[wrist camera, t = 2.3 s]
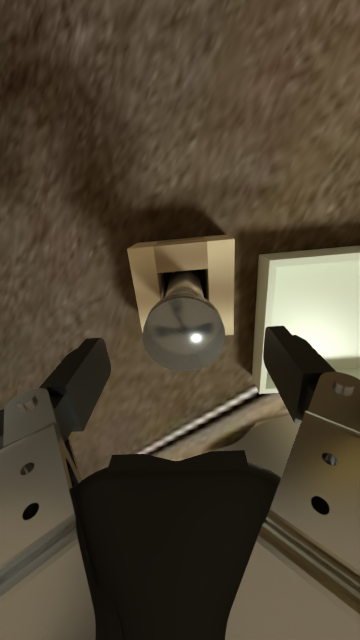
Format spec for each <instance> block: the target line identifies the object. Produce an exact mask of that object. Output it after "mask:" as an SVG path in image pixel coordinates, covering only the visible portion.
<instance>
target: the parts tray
mask: <svg viewBox="0 0 360 640" xmlns="http://www.w3.org/2000/svg"><path fill="white" fill-rule="evenodd" d="M269 326H285V328H286V329H287V330H288V331H289V332H290V333H291V334H292V335H297V336H299V337H301V338H303V339H305V340H306V341H307V342H308V343H309V344H310V345H311V346H312V347H313V348H314V349H315V350H316V351H317V352H318V354H320V355H321V356H322V357H323V358H324V359H325V360H326V361H327V362H328V363H329V364H330V365H331V367H332V368H333V369H334V370H335V371H336V372H341V373H345V374H348V375H351V376H354V377H356V378H358V379H359V380H360V245H358V246H346V247H335V248H324V249H313V250H302V251H291V252H279V253H268V254H259V258H258V276H257V294H256V311H255V329H254V347H253V365H252V377H253V379H254V382H255V384H256V386H257V389H258V391H259V394H262V393H279V392H278V390H277V388H276V386H275V384H274V383H273V381H272V379H271V377H270V375H269V373H268V371H267V369H266V367H265V364H264V359H263V351H264V338H265V329H266V327H269Z"/></svg>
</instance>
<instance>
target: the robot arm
mask: <svg viewBox="0 0 360 640" xmlns="http://www.w3.org/2000/svg"><path fill="white" fill-rule="evenodd" d="M263 359H264V364H265V367H266V369H267V371H268V373H269V375H270V377H271V379H272V381H273V383H274V384H275V386H276V388H277V390H278V392H279V394H280V396H281V398H282V400H283V402H284V404H285V405H286V407H287V409H288V411H289V413H290V415H291V417H292V419H293V421H294V423H301V424H300V427H299V430H298V433H297V435H296V438H295V441H294V444H293V446H292V449H291V452H290V455H289V458H288V460H287V463H286V466H285V469H284V472H283V474H282V477H280V476H278V475H277V474H275V473H273V472H272V471H270V470H268V469H266V468H264V467H262V466H258V465H256V464H253V463H249V462H247V459H246V455H245V451H244V450H242V451H241V450H240V451H212V452H208V453H205V454H201V455H198V456H194V457H191V458H188V459H184V460H181V461H171V460H167V459H163V458H159V457H154V456H150V455H146V454H129V455H112V457H111V460H110V464H109V467H107V468H104V469H102V470H100V471H97V472H95V473H94V474H92V475H90V476H88V477H87V478H85V479H84V480H82V479H81V476H80V472H79V469H78V466H77V462H76V459H75V456H74V452H73V449H72V446H71V442H70V440H69V438H68V437H69V435H70V433H71V432H74V431H83V430H84V428H85V426H86V424H87V422H88V420H89V418H90V416H91V414H92V412H93V409H94V407H95V405H96V403H97V401H98V399H99V397H100V395H101V393H102V391H103V388H104V386H105V384H106V382H107V380H108V378H109V376H110V372H111V365H110V360H109V357H108V353H107V349H106V346H105V342H104V340H103V338H90V339H85V340H84V342H83V343H82V344H81V345H80V347H79V348H78V349H75V350H74V351H72V352H71V353H70V354H68V355H67V356H66V357H65V358H64V359H63V360H62V362H61V364H59V365H58V366H57V368H56V369H55V370H54V371H53V372H52V373H51V375H50V376H49V377H48V378H47V379H46V380H45V382H44V383H43V384H42V385H41V386H40V387H39V388H36V389H31V390H28V391H26V392H23V393H21V394H20V395H18V396H16V397H15V398H14V399H12V400H11V401H10V402H9V403H8V404H7V406H6V407H5V409H4V410H0V640H360V380H359V379H358V378H356V377H354V376H351V375H348V374H345V373H341V372H336V371H335V370H334V369H333V368H332V367H331V365H330V364H329V363H328V362H327V361H326V360H325V359H324V358H323V357H322V356H321V355H320V354H318V352H317V351H316V350H315V349H314V348H313V347H312V346H311V345H310V344H309V343H308V342H307V341H306V340H305V339H303V338H301V337H299V336H297V335H292V334H291V333H290V332H289V331H288V330H287V329H286V328H285V326H269V327H266V329H265V338H264V351H263Z"/></svg>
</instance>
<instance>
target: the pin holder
mask: <svg viewBox="0 0 360 640" xmlns="http://www.w3.org/2000/svg"><path fill="white" fill-rule="evenodd" d="M234 248H235V239H234V238H232V237H230V236H228V235H226V234H225V235H214V236H204V237H193V238H183V239H172V240H162V241H151V242H141V243H136V244H135V245H133V246H131V247H130V248H128V249H127V252H128V257H129V263H130V268H131V273H132V279H133V284H134V290H135V295H136V300H137V306H138V311H139V316H140V322H141V327H142V332H143V328H144V325H145V322H146V319H147V317H148V314H149V312H150V310H151V309H152V308H153V306H154V305H155V304H156V303H157V302H159V301H160V300H161V299H163V298H165V295H166V292H165V284H164V276H163V273H164V272H176V271H187V270H199V269H205V286H206V299H207V300H208V301H209V302H211V303H212V304H213V305H214V306H215V308H216V309H217V310H218V312H219V314H220V316H221V319H222V322H223V325H224V329H225V335H234Z"/></svg>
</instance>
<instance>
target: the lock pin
mask: <svg viewBox="0 0 360 640" xmlns="http://www.w3.org/2000/svg"><path fill="white" fill-rule="evenodd" d="M143 342H144V346H145V348H146V350H147V352H148V354H149V355H150V356H151V358H152V359H153V360H154V361H156V362H157V363H158V364H160V365H161V366H163V367H165V368H168V369H171V370H175V371H194V370H198V369H201V368H203V367H205V366H207V365H209V364H210V363H211V362H213V361H214V360H215V359H216V358H217V357H218V355H219V354H220V353H221V351H222V349H223V346H224V343H225V329H224V325H223V322H222V319H221V316H220V314H219V312H218V310H217V309H216V308H215V306H214V305H213V304H212V303H211V302H209V301H208V300H207V299H205V298H204V295H203V291H202V286H201V282H200V277H199V275H198V273H197V272H196V271H195V270H187V271H176V272H172V274H171V276H170V279H169V283H168V287H167V291H166V295H165V298H163V299H161V300H160V301H159V302H157V303H156V304H155V305H154V306H153V308H152V309H151V310H150V312H149V314H148V317H147V319H146V322H145V325H144V328H143Z"/></svg>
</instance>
